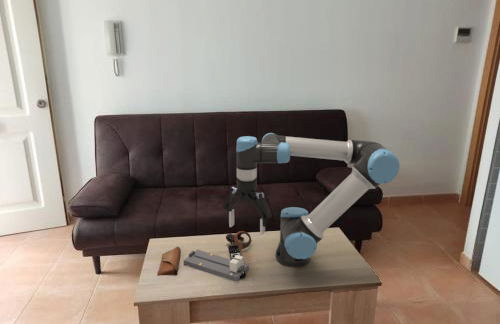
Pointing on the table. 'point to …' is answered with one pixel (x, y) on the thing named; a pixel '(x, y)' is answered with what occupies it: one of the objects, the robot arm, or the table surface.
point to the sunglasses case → (170, 262)
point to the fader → (236, 263)
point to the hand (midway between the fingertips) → (246, 229)
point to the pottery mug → (238, 237)
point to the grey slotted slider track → (214, 264)
